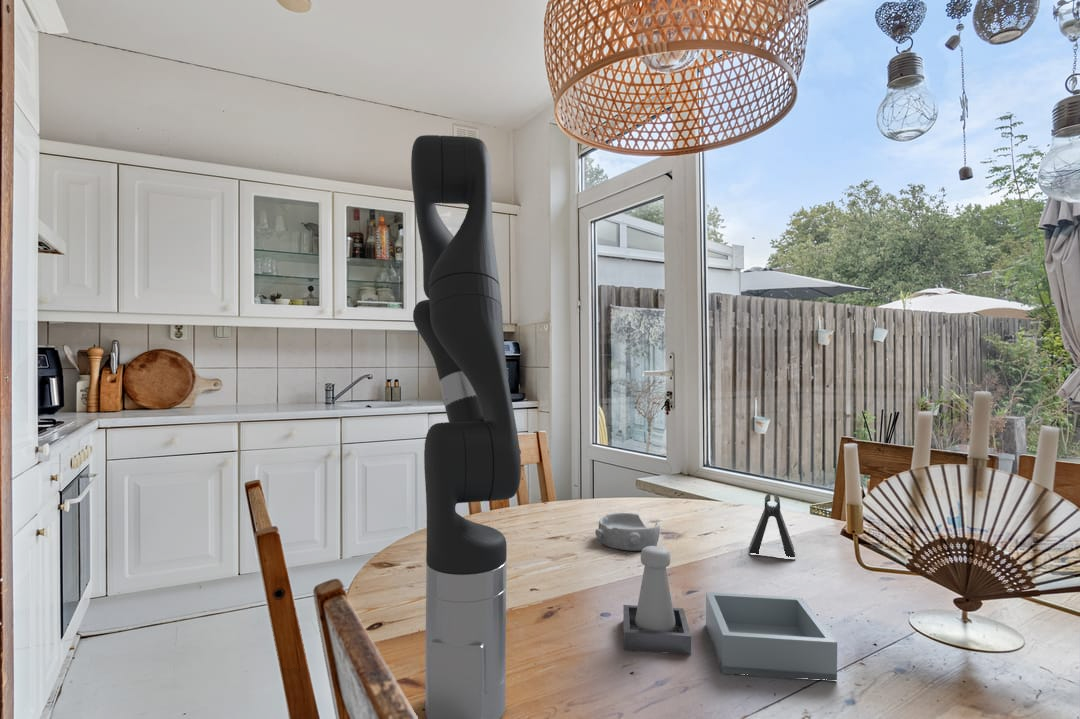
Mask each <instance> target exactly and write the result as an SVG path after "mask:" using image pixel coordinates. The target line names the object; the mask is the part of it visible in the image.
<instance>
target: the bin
mask: <svg viewBox="0 0 1080 719" xmlns="http://www.w3.org/2000/svg"><path fill="white" fill-rule="evenodd" d="M705 626H706V629H707V632H708V635H709V637H710V641H711V643H712V646H713V649H714V652H716V653H715V655H716V659H717V661H718V664H719V667H720V669H721V672H722V674H723V675H734V674H745V675H744V676H747V674H748V675H753V676H752V677H761V676H762V677H764V678H776V679H777V678H779V679H789V678H808V679H825V680H826V679H827V680H837V681H838V642H837V640H836V639H835V638H834V636H833V635H832V634H831V633H830V631H829V630H828V629H827V628H826V626H825V625H824V624H823V623H822V621H821V620H820V619H819V617H818V616H817V615H816V614H815V612H814V611H813V610H812V608H811V607H810V606H809V604H808V603H807V602H806V601H805V599H804V598H803V597H801V596H799V597H797V596H782V595H780V596H779V595H766V594H765V595H763V594H761V595H759V594H746V593H744V594H743V593H728V592H727V593H726V592H712V591H711V592H709V591H707V592H705Z"/></svg>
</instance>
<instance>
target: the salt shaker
mask: <svg viewBox="0 0 1080 719" xmlns="http://www.w3.org/2000/svg"><path fill="white" fill-rule="evenodd" d="M670 552H671V551H669V550H668V549H667V548H666V547H663V546H659V545H656V546H647V547H645V548H643V549H642V550H641V552H640V563H641V564H642V565H643V566H644V567H643V568H644V569H643V572H642V579H641V585H640V589H639V590H640V591H639V596H638V602H637V606H638V607H637V612H636V618H635V622H636V624H635V625H636V628H637V630H641V631H656V632H672V633H674V630H675V628H676V627H675V616H674V611H673V608H674V607H673V600H672V595H671V591H670V584H669V577H668V571H667V567H670V564H671V553H670Z"/></svg>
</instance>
